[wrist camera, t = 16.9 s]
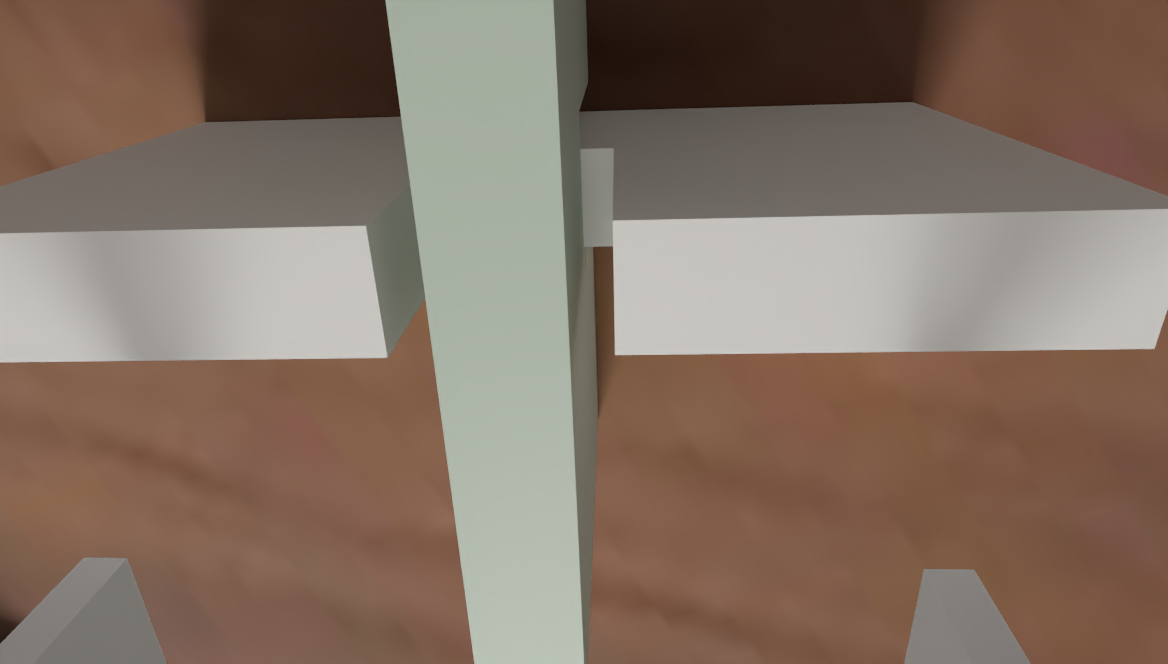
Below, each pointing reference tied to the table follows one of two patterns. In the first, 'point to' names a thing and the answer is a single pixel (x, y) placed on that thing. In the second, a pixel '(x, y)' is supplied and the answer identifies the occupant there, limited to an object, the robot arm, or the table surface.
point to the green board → (508, 305)
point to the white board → (594, 240)
